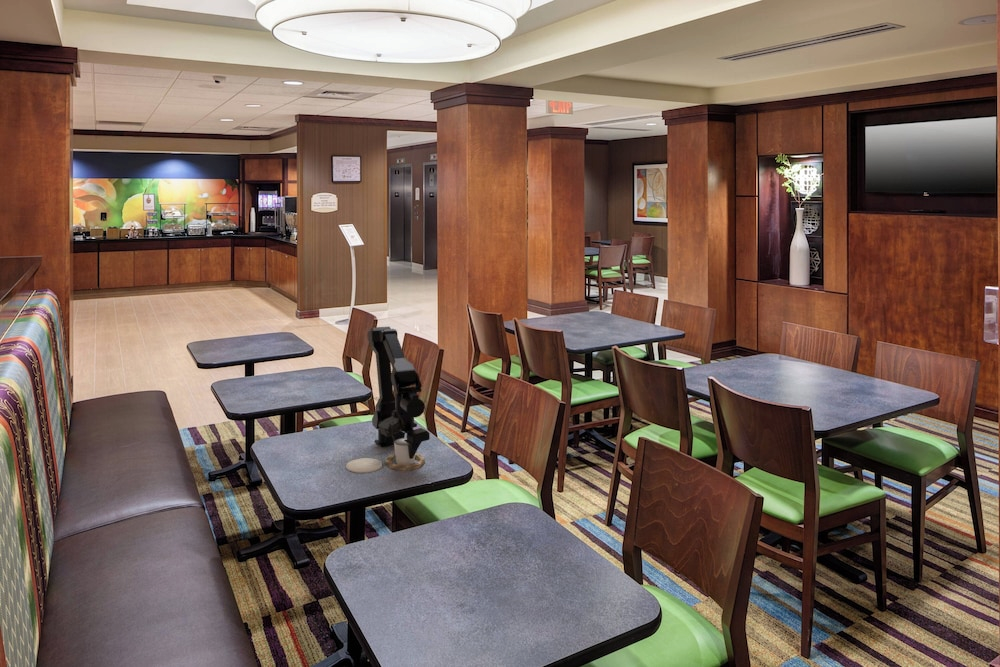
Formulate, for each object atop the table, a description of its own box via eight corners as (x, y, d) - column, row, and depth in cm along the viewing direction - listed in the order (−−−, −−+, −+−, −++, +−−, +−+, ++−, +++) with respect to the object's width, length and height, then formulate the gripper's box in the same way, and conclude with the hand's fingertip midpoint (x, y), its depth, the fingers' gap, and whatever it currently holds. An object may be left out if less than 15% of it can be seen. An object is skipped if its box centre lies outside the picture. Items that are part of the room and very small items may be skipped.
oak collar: (381, 460, 227) (381, 456, 226) (413, 453, 233) (413, 450, 232) (396, 472, 217) (395, 469, 217) (429, 465, 223) (429, 461, 223)
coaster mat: (340, 463, 224) (340, 462, 224) (374, 456, 229) (374, 455, 229) (353, 475, 215) (353, 474, 214) (388, 468, 220) (387, 467, 220)
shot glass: (416, 458, 229) (416, 437, 227) (415, 466, 222) (415, 445, 220) (395, 458, 228) (395, 437, 227) (393, 466, 221) (392, 445, 220)
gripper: (366, 405, 223) (367, 452, 226) (399, 420, 209) (400, 471, 212) (396, 398, 230) (397, 444, 233) (430, 413, 216) (430, 462, 220)
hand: (405, 455), depth 225 cm, fingers closed on shot glass, 6 cm apart
